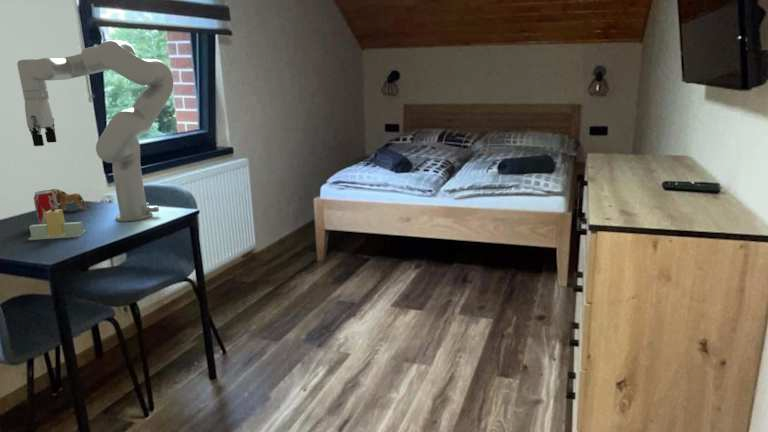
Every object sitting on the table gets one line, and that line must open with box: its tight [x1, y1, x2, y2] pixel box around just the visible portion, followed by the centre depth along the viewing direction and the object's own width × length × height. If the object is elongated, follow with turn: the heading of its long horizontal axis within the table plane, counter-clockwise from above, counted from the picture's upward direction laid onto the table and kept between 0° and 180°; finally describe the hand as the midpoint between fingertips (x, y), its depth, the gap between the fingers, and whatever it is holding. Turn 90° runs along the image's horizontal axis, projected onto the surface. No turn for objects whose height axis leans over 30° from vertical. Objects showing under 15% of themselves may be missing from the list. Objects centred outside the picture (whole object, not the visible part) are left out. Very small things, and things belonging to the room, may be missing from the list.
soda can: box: [33, 189, 59, 224], centre depth 203 cm, size 7×7×12 cm
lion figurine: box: [50, 188, 91, 212], centre depth 223 cm, size 15×5×9 cm, turn 97°
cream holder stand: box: [28, 221, 87, 241], centre depth 189 cm, size 16×6×4 cm, turn 96°
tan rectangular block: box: [44, 206, 66, 236], centre depth 188 cm, size 4×4×10 cm
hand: (45, 144), depth 203 cm, fingers open, 9 cm apart
